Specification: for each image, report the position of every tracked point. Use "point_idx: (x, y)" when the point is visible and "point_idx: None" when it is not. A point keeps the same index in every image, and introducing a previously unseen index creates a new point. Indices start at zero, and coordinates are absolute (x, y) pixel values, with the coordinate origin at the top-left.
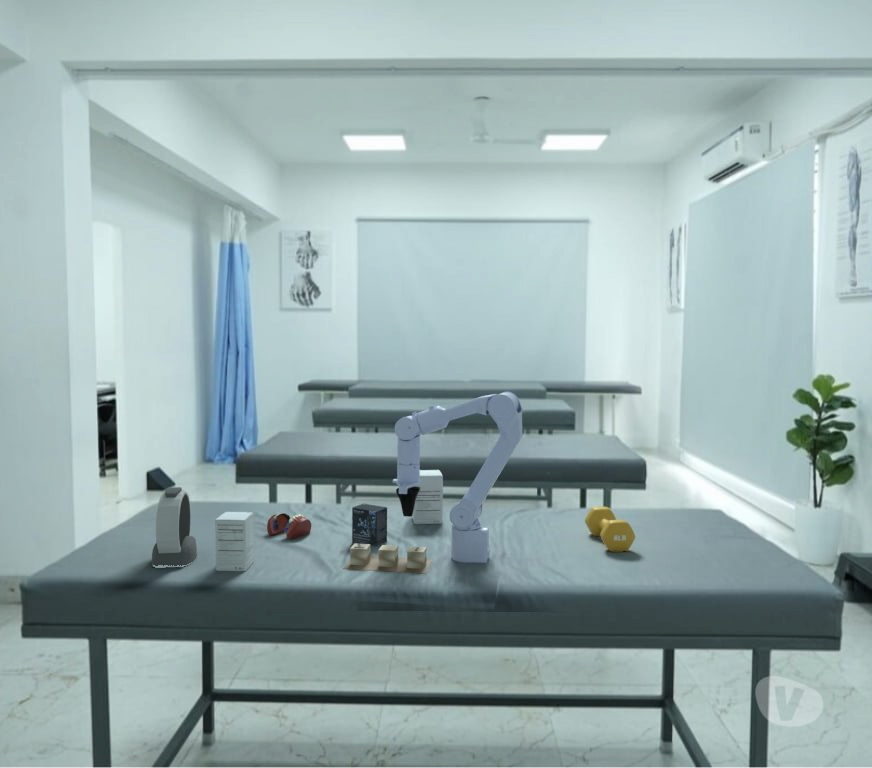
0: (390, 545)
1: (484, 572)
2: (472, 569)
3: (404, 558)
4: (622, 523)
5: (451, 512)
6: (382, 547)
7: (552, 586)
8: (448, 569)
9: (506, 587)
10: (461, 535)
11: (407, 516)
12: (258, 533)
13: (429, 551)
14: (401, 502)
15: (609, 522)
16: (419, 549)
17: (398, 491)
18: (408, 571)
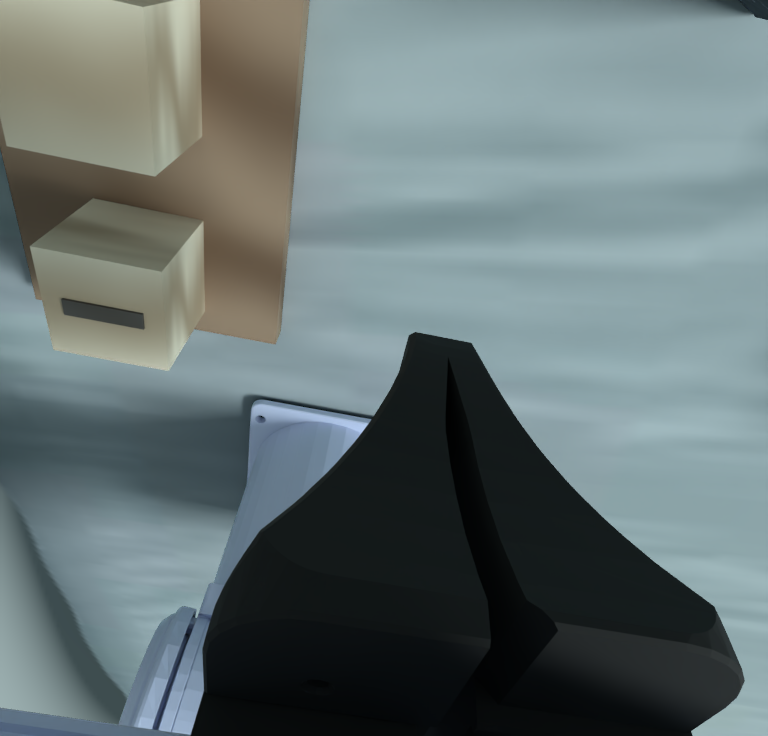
0: (144, 101)
1: (194, 501)
2: (223, 472)
3: (280, 183)
4: None
5: (132, 702)
6: (59, 12)
7: (110, 617)
8: (203, 392)
9: (53, 532)
10: (217, 574)
11: (400, 368)
12: None
13: (508, 330)
14: (356, 441)
15: None
16: (105, 328)
17: (217, 610)
18: (26, 205)
